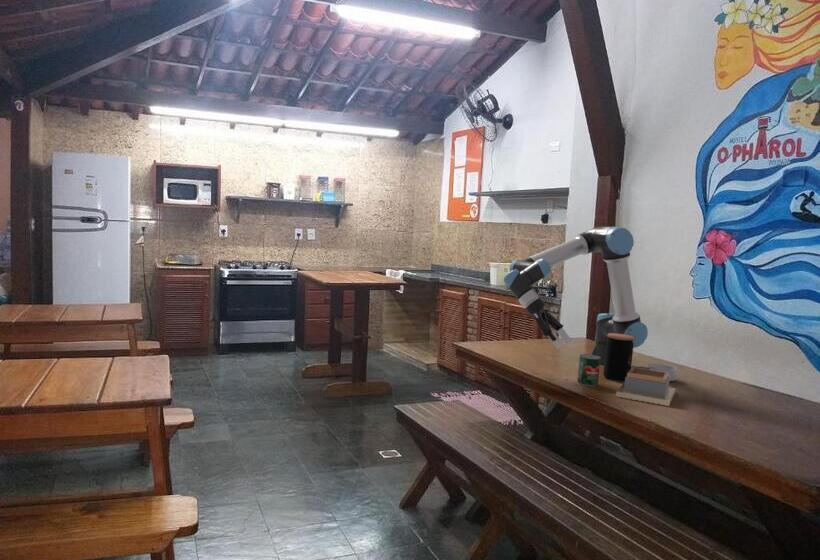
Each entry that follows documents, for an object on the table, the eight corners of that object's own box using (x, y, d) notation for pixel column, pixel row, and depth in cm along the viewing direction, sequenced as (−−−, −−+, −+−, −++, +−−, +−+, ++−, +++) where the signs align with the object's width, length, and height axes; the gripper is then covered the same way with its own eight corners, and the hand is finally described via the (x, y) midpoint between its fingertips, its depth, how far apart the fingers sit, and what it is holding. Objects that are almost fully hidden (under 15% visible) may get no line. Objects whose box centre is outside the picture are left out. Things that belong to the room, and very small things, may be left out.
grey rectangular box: (625, 384, 239) (627, 363, 239) (674, 393, 231) (676, 371, 230) (616, 396, 220) (618, 373, 219) (669, 406, 211) (671, 382, 211)
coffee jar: (632, 382, 243) (636, 339, 242) (604, 379, 245) (609, 336, 244) (627, 377, 254) (631, 334, 252) (601, 374, 256) (605, 332, 254)
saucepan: (623, 375, 257) (624, 362, 256) (665, 376, 261) (666, 363, 260) (638, 382, 245) (640, 369, 245) (682, 383, 249) (683, 370, 249)
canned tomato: (589, 387, 232) (592, 359, 231) (573, 382, 238) (575, 354, 237) (602, 385, 237) (604, 357, 236) (585, 380, 243) (588, 353, 242)
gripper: (534, 306, 259) (565, 345, 253) (515, 311, 237) (549, 354, 231) (547, 295, 256) (579, 335, 250) (529, 299, 234) (564, 343, 228)
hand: (565, 344), depth 241 cm, fingers open, 13 cm apart
